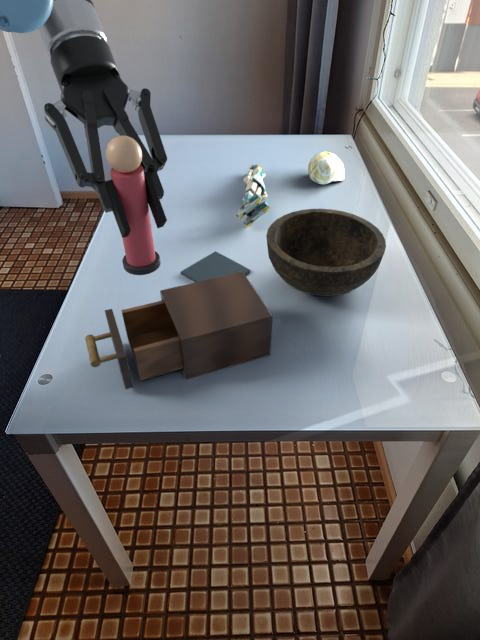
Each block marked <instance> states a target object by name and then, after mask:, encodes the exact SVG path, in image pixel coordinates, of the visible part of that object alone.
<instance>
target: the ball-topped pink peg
mask: <svg viewBox="0 0 480 640" xmlns="http://www.w3.org/2000/svg"><path fill="white" fill-rule="evenodd" d="M105 157H106V160H107V163H108V165H109V166H110V167H111V168H110V170H109V173H110V180H113V183H114V186H115V188H116V191H117V194H118V196H119V199H120V202H121V205H122V207H123V210H124V213H125V215H126V218H127V221H128V223H129V226H130V229H131V231H130V233H129V235H128V236H127V237H124V238H122V243H123V249H124V253H125V254H124V255H123V257H122V268H123V269H124V271H125V272H126V273H128V274H130V275H134V276H145V275H150V274H152V273H154V272H156V271H157V270H158V269H159V268H160V267H161V263H162V262H161V255H160V254H159V253H158V252H157V251H156V249H155V243H154V235H153V228H152V220H151V212H150V207H149V204H148V198H147V191H146V184H145V177H144V169H143V167H142V166H141V165H140V164H141V161H142V150H141V148H140V146H139V144H138V143H137V142H136V141H135V140H134V139H133V138H131V137H128V136H120V135H117V136H115V137H113V138H112V139H111V140H110V141H108V143H107V145H106V149H105Z"/></svg>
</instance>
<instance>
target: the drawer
mask: <svg viewBox="0 0 480 640" xmlns="http://www.w3.org/2000/svg"><path fill="white" fill-rule="evenodd" d="M104 314H105V318H106V322H107V326H108V330H109V332H105V333H102V334H98V335H93V334H87V335H86V336H85V338H84V339H85V340H84V341H85V345H86V348H87V353H88V358H89V363H90V367H92V368H99V366H101V364H102V363H106V362H110V361H113V360H117V363H118V367H119V371H120V375H121V378H122V382H123V386H124V390H129V389H132V388H134V385H133V380H132V375H131V371H130V366H129V362H128V359H127V354H126V351H125V347H124V344H123V341H122V338H121V334H120V330H119V327H118V324H117V321H116V317H115V314H114V310H113V308H109V309H105V310H104ZM121 316H122V320H123V324H124V328H125V333H126V338H127V342H128V346H129V348H130V351H131V354H132V357H133V361H134V364H135V367H136V370H137V373H138V377H139V380H140V381H143V380H147V379H150V378H153V377H154V378H155V377H157V376H161V375H164V374H167V373H172V372H176V371H178V370H182V368H184V367H183V358H182V350H181V341H180V338H179V336H178V334H177V331H176V329H175V327H174V324H173V322H172V320H171V317H170V315H169V313H168V310H167V308H166V306H165V303H164V301H163V300H162V301H161V300H157V301H154V302H149V303H146V304H141V305H138V306H133V307H130V308H125V309H121ZM110 338H111V342H112V347H113V349H114V353H113V354H112V353H111V354H109V355H105V356H101V357H100V354H99V350H98V346H97V342H99V341H101V340H105V339H110Z"/></svg>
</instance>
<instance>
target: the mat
mask: <svg viewBox="0 0 480 640" xmlns="http://www.w3.org/2000/svg"><path fill="white" fill-rule="evenodd" d="M242 271H243V273H244V274H245V276H247V275H248V274H250V273H251V271H252V270H251V269H250V268H248V267H247V266H244V265H242V264H241V263H239V262H237V261H235V260H233V259H231V258H229V257H227V256H226V255H223V254H222V253H220V252H218V251H214V252H211V253H210V254H208V255H206V256H205V257H203V258H201V259H200V260H198V261H196V262H194V263H193V264H191V265H190V266H187V267H186V268H184V269H182V270H181V271H180V275H182V276H184V277H185V278H187V279H189V280H190V281H192V282H193V283H195V282H199V281H203V280H208V279H212V278H216V277H221V276H225V275H229V274H233V273H238V272H242Z"/></svg>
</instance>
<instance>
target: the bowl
mask: <svg viewBox="0 0 480 640" xmlns="http://www.w3.org/2000/svg"><path fill="white" fill-rule="evenodd" d="M265 237H266V245H267V253H268V259H269V262H270V263H271V265H272V267H273V269H274V271H275V272H276V274H277V275H278V276H279V277H280V278H281V279H282V281H283V282H285V283H286V284H287V285H288V286H290V287H292V288H293V289H294V290H295V289H296V290H297V291H299V292H303V293H306V294H309V295H313V296H320V297H333V296H339V295H344V294H347V293H351V292H352V291H354V290H357V289H358V288H360V287H361V286H363V285H364V284H365V283H367V282H368V281H369V280H370V279H371V278H372V277H373V275H374V274H376V272H377V270H378V269H379V267H380V264H381V262H382V260H383V258H384V255H385V251H386V248H387V243H386V239H385V236H384V234H383V233H382V231H381V230H380V229H379V227H377V226H376V225H374V224H373V223H372V222H370V221H369V220H367V219H366V218H364V217H361V216H359V215H356V214H354V213H352V212H351V213H350V212H346V211H344V210H338V209H331V208H307V209H300V210H296V211H292V212H289V213H286V214H284V215H282V216H280V217H278V218H277V219H275V220H274V221H273V222H272V223H271V224H270V226H269V227H268V229H267V231H266V235H265Z"/></svg>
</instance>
